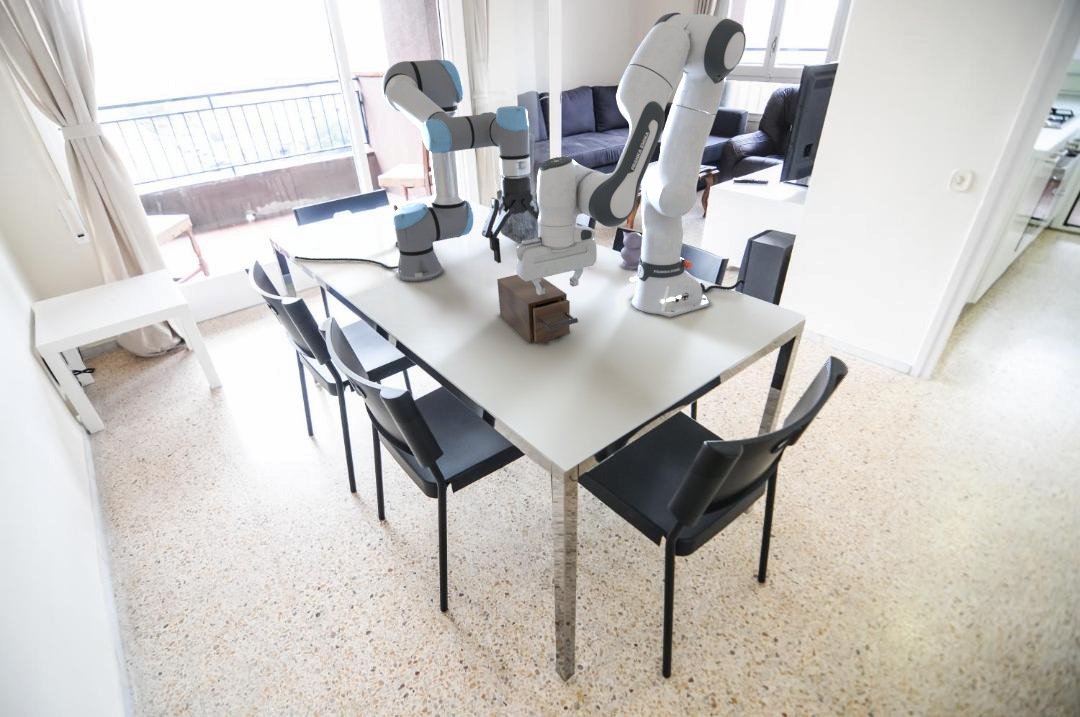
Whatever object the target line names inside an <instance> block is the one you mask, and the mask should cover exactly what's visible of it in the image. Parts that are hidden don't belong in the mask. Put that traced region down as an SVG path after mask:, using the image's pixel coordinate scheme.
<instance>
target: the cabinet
mask: <svg viewBox="0 0 1080 717" xmlns="http://www.w3.org/2000/svg"><path fill="white" fill-rule="evenodd" d="M539 284H540V285H542V286H543V287H545V294H542V295H538V294H537V292H536V286H535V285H534V283H533V282H532V280H531V281H524V280H522V279H521V278H520V277H519V276H518V275H517V274H514V275H513V274H512V275H509V276H504V277H500V278H497V291H498V293H497V294H498V304H499V316H500V317H501V318H502V319H503V320H505V322H506V323H508V324H509V325H510V326H511V327H512V328H513V329H514V330H515V331H516V332H517V333H519V335H521V336H522V337H523V338H524V339H525V340H526V341H527V342H528V343H529V344H531V343H535V342H534V336H533V326H532V307H531V306H535V305H539V304H543V303H546V302H550V301H554V300H558V299H561V301H564V300H568V294H567V293H566V292H564V291H563V290H561V289H560V288H559V287H557V286H556V285H554V284H553V283H551V282H550V281H549V280H547V279H546V278H545V277H543V278H541V282H539Z"/></svg>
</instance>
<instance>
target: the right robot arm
mask: <svg viewBox="0 0 1080 717" xmlns="http://www.w3.org/2000/svg"><path fill="white" fill-rule="evenodd" d="M746 39H747V37H746V32H745V29H744V26H743V25H742V24H741V23H739V22H738V21H735V20H733V19H731V18H723V17H718V16H715V15H711V14H706V13H699V14H698V13H697V14H696V13H681V12H670V13H666V14H663V15H662V16H661V17H659V18H658V19H657V21H656V22H655V23H654V25H653V26H652V27H651V29H650V31H648V33H647V34H646V35H645V37H644V39H643V40H642V41H641V43H640V45H639V46H638V48H636V50H635V52H634V54H633V56H632V58H631V59H630V61H629V63H628V65H627V67H626V68H625V70H624V73H623V75H622V77H621V79H620V81H619V84H618V86H617V91H616V94H615V98H616V105H617V108H618V110H619V112H620V114H621V115H622V117H623V118H624V119H625V120H626V121H627V122H628V125H629V134H628V137H627V140H626V142H625V145H624V148H623V150H622V151H621V155H620V157H619V160H618V162H617V164H616V167H615V169H614V171H612V172H611V173H610V174H608V173H604V172H602V171H599V170H595V169H592V168H589V167H586V166H584V165H582V164H580V163H578V162H576V161H575V160H574V159H573V158H572V157H569V156H556V157H552V158H549V159H547V160H545V161H544V162H543V163H541V165H540V166H539V168H538V172H537V179H536V181H537V182H536V191H537V204H538V207H539V216H538V238H533V239H530V240H524V241H522V243H520V244H519V243H518V246H516V257H517V261H516V275H518V276H519V277H520V278H521V279H522V280H524V281H531V280H532V282H533V283H534V285H535V286H536V292H537V294H538V295H542V294H545V287H543V286H542V285H540V284H539V282H541V278H547V277H552V276H555V275H561V274H565V273H568V272H572V271H574V273H573V274H572V277H569V285H570V286H571V287H572V288H573V287H577V286H579V280H580V279H581V276H582V274H584V273H583V272H584V269H585V268H586V269H587V268H590V267H593V266H594V265H595V264H596V262H597V255H598V250H597V249H598V248H597V242H596V240H595V239H594V238H596V230H595V229H593V228H592V227H589V226H587V225H585V224H582V223H579V222H577V220H578V219H577V217H578V216H579V215H585V216H587V217H590V218H592V219H594V220H595V221H597V222H598V223H599V224H601V225H602V226H604V227H607V228H613V227H617V226H620V225H622V224H624V222H626V221H627V220H628V219H629V218H630V217H631V215H632V214H633V212H634V210H635V208H636V205H637V200H638V196H639V191H640V187H641V223H642V224H641V226H642V228H641V229H642V232H641V236H642V246H641V256H640V257H639V265H638V269H637V276H634V277H630V278H629V281H630V282H635V281H636V282H637V284H636V287H635V290H634V295H633V297H632V299H631V304H632V306H633V307H634V308H635V309H637V310H639V311H641V312H644V313H647V314H648V313H649V314H655V315H661V316H664V317H668V318H672V317H675V316H679V315H683V314H685V313H689V312H693V311H696V310H700V309H703V308H706V307H708V306H709V299H708V298H707V296H705V294H704V293H708V292H709V291H710V290H713V289H718V290H725V291H730V290H734V289H736V288H737V287H738V286H739V285H740V284H746V282H745V280H744V279H742V278H740V279H738V280H737V281H736V283H734V284H733V285H732V286H724V285H710V286H709V285H708V287H705V285H704V284H703V282H701V281H700V280H698V279H697V278H696V277H695V276H693V275H692V274H691V273H689V272H688V271H687V270H685V268H686V269H688V270H689V269H692V267H693V263H692V261H690V260H688V259H684V258H683V257H681V255H682V248H683V240H684V228H683V216H685V215H687V214H688V213H689V212H690V211H691V210H692V209H693V208H694V206H695V204H696V202H697V185H698V181H699V176H700V171H701V166H702V161H703V156H704V152H705V148H706V145H707V142H708V138H709V136H710V133H711V131H712V128H713V126H714V122H715V119H716V116H717V114H718V111H719V108H720V105H721V101H722V98H723V94H724V90H725V84H726V79H727V77H728V76H729V75H730V74H731V73H732V72H733V71H735V69H736V67H737V66H738V65H739V63H740V61H741V60H742V58H743V56H744V53H745V49H746V43H747V42H746V41H747V40H746ZM681 75H682V78H681ZM680 78H681V80H680ZM679 80H680V82H679V85H678V87H677V89H676V92H675V95H674V97H673V101H672V104H671V106H670V109H669V113H668V115H667V119H666V114H665V110H666V107H667V105H668V101H669V99H670V97H671V95H672V93H673V91H674V89H675V87H676V86H677V83H678V81H679ZM665 121H666V122H665ZM660 137H661V138H660ZM660 139H661V141H660V142H661V143H660V150H659V151H660V153H659V157H658V162H656V163H653V164H651V165H649V164H650V162H651V160H652V157H653V155H654V153H655V150H656V147H657V145H658V143H659V140H660ZM726 289H727V290H726Z"/></svg>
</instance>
